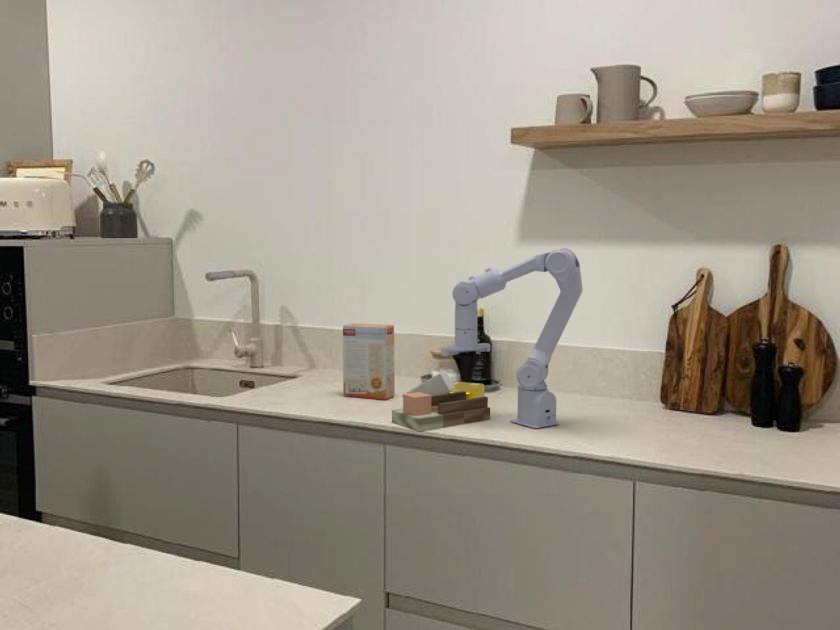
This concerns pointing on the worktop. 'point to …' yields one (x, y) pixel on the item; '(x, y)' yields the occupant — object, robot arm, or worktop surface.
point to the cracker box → (368, 361)
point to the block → (417, 403)
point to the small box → (435, 385)
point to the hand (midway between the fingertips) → (465, 381)
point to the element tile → (469, 389)
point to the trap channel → (446, 412)
